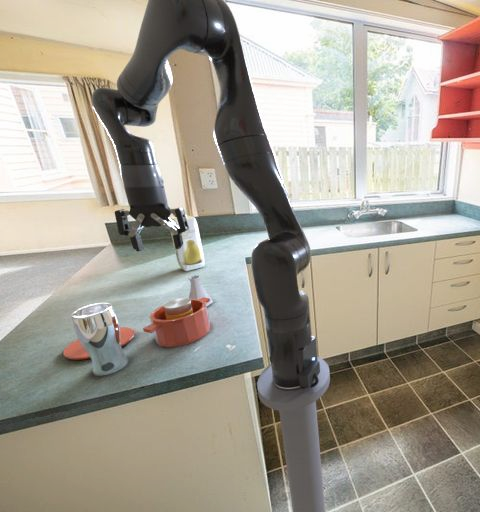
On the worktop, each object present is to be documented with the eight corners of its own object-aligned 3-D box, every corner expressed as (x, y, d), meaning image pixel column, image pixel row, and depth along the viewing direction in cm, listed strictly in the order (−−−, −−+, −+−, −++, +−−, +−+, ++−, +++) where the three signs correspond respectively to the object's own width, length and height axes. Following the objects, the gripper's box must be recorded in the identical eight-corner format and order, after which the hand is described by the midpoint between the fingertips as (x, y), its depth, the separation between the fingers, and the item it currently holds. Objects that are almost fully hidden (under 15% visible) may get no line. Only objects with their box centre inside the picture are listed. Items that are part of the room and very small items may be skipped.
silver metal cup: (103, 359, 71) (84, 304, 67) (136, 355, 73) (120, 301, 68) (82, 379, 65) (60, 319, 60) (119, 374, 66) (100, 315, 62)
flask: (201, 298, 103) (196, 271, 100) (217, 301, 101) (212, 274, 98) (182, 307, 96) (175, 279, 93) (198, 311, 94) (192, 282, 91)
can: (201, 327, 84) (195, 299, 81) (183, 339, 79) (175, 309, 76) (184, 324, 86) (178, 296, 83) (165, 336, 80) (157, 306, 77)
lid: (147, 334, 82) (142, 315, 80) (90, 366, 69) (82, 343, 67) (111, 327, 85) (105, 308, 83) (50, 356, 72) (41, 334, 71)
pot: (227, 320, 89) (223, 297, 87) (172, 356, 72) (166, 330, 70) (193, 314, 92) (189, 293, 90) (134, 348, 76) (126, 322, 73)
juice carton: (184, 272, 127) (171, 217, 119) (177, 268, 131) (165, 215, 124) (207, 266, 133) (197, 214, 126) (200, 263, 138) (190, 212, 131)
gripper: (98, 186, 65) (118, 256, 70) (171, 185, 69) (186, 251, 74) (117, 183, 72) (135, 247, 77) (183, 182, 75) (196, 243, 80)
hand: (159, 249), depth 75 cm, fingers open, 8 cm apart
